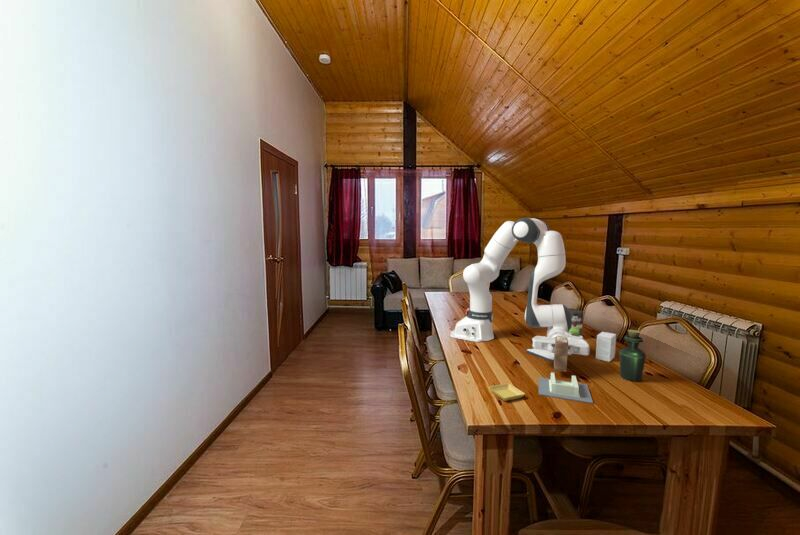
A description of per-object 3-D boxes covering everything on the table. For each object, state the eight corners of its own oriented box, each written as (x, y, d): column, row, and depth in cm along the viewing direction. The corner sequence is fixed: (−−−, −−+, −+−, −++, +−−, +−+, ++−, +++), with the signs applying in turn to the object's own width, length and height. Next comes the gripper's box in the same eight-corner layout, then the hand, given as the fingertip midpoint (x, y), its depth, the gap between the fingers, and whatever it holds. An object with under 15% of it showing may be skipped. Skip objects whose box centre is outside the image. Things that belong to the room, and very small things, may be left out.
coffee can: (585, 340, 170) (586, 313, 168) (563, 339, 171) (564, 312, 170) (577, 334, 180) (579, 308, 178) (557, 333, 182) (558, 307, 180)
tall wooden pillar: (554, 369, 126) (556, 340, 125) (553, 364, 132) (555, 336, 130) (566, 371, 125) (568, 342, 123) (564, 365, 130) (567, 337, 129)
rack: (549, 392, 113) (550, 383, 113) (548, 380, 122) (549, 372, 122) (579, 397, 110) (580, 388, 109) (576, 384, 119) (577, 376, 119)
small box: (600, 354, 151) (601, 331, 150) (615, 357, 147) (616, 333, 146) (595, 358, 145) (596, 335, 144) (609, 362, 141) (611, 337, 140)
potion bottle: (638, 384, 120) (641, 335, 118) (613, 376, 127) (616, 330, 125) (648, 379, 124) (651, 332, 122) (623, 371, 131) (627, 326, 129)
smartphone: (569, 361, 144) (536, 349, 158) (569, 357, 144) (537, 346, 157) (556, 365, 139) (524, 353, 153) (556, 361, 139) (524, 349, 153)
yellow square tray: (508, 388, 118) (508, 382, 118) (525, 399, 110) (526, 393, 110) (487, 392, 115) (488, 386, 115) (503, 404, 107) (504, 398, 107)
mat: (538, 394, 112) (538, 393, 112) (538, 378, 125) (538, 377, 125) (593, 403, 107) (593, 402, 106) (586, 385, 119) (587, 384, 119)
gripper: (532, 330, 143) (532, 340, 130) (586, 336, 135) (592, 347, 122) (531, 344, 143) (531, 355, 131) (585, 351, 136) (590, 364, 123)
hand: (561, 351), depth 126 cm, fingers closed on tall wooden pillar, 4 cm apart
